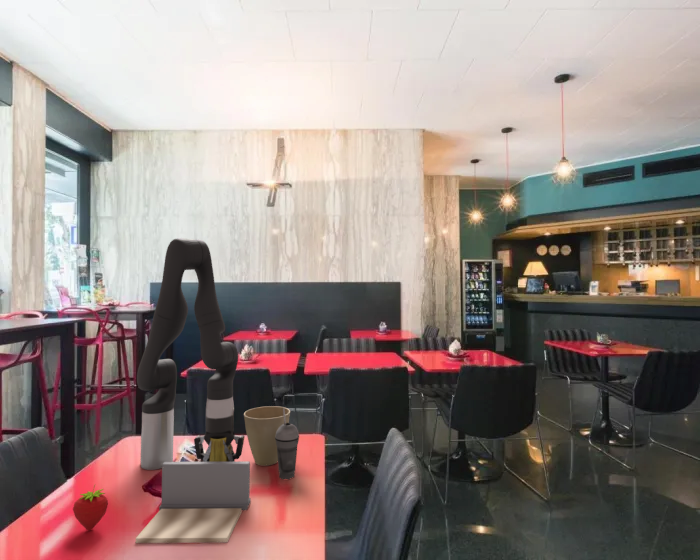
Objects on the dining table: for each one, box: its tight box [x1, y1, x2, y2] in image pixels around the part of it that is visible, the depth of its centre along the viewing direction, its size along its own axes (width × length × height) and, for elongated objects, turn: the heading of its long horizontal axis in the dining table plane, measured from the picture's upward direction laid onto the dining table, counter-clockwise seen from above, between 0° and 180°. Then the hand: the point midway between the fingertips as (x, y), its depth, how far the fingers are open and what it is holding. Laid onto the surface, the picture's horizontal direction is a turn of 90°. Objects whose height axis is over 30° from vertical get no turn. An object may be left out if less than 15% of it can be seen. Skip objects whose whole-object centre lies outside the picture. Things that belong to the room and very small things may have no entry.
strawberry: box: [72, 484, 109, 531], centre depth 92 cm, size 6×8×10 cm
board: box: [135, 508, 242, 544], centre depth 93 cm, size 20×12×1 cm, turn 91°
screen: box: [158, 461, 252, 512], centre depth 102 cm, size 22×4×11 cm, turn 91°
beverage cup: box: [275, 409, 300, 480], centre depth 119 cm, size 7×7×20 cm
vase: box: [209, 437, 229, 462], centre depth 112 cm, size 6×6×14 cm
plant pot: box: [243, 405, 291, 467], centre depth 130 cm, size 15×15×16 cm
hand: (219, 473), depth 112 cm, fingers closed on vase, 5 cm apart
